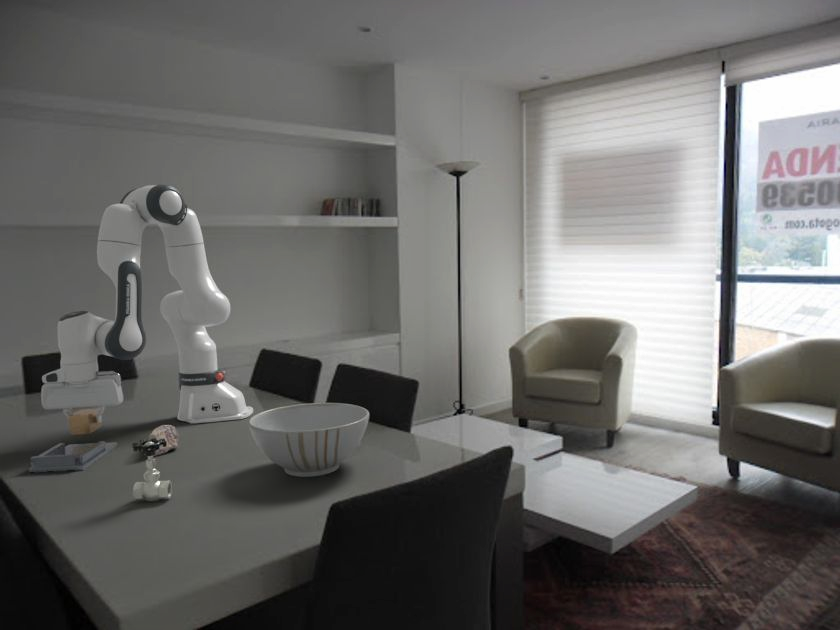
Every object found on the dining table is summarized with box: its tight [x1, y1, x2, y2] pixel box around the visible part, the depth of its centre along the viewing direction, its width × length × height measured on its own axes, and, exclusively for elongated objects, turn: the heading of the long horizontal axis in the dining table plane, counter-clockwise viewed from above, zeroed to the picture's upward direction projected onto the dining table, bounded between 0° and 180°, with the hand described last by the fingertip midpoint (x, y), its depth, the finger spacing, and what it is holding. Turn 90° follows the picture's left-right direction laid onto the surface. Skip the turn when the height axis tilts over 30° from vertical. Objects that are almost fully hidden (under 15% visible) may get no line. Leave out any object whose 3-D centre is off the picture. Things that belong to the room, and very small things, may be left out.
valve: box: [131, 438, 173, 502], centre depth 134 cm, size 7×7×12 cm
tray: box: [28, 440, 119, 474], centre depth 166 cm, size 12×20×4 cm, turn 3°
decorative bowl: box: [248, 402, 370, 478], centre depth 151 cm, size 27×27×12 cm
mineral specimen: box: [148, 424, 179, 458], centre depth 170 cm, size 13×7×6 cm, turn 16°
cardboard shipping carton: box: [68, 408, 102, 436], centre depth 180 cm, size 5×7×5 cm
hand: (85, 423), depth 180 cm, fingers closed on cardboard shipping carton, 5 cm apart
